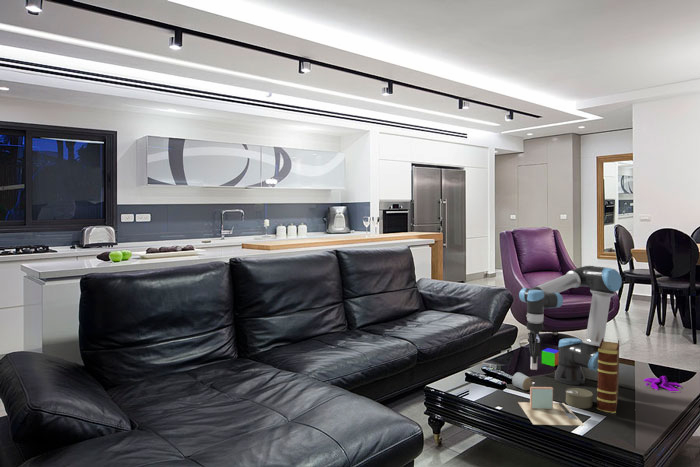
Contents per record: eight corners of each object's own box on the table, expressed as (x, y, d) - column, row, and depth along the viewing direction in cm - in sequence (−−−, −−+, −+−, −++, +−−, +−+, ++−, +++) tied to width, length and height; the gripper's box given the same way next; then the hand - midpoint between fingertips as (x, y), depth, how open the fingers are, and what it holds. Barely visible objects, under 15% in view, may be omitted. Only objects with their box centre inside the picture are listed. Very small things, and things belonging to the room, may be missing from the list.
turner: (564, 404, 231) (564, 403, 231) (577, 419, 216) (577, 417, 215) (556, 404, 232) (556, 402, 232) (569, 419, 216) (569, 417, 216)
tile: (551, 407, 228) (551, 387, 227) (553, 409, 226) (553, 388, 225) (529, 407, 229) (530, 386, 228) (531, 409, 227) (531, 388, 226)
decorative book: (615, 416, 222) (617, 351, 220) (596, 412, 226) (597, 349, 224) (618, 399, 241) (619, 340, 239) (600, 396, 245) (601, 337, 243)
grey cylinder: (523, 392, 250) (524, 377, 250) (511, 387, 257) (512, 373, 257) (537, 389, 255) (538, 374, 255) (525, 384, 262) (526, 370, 262)
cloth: (644, 377, 272) (644, 367, 272) (684, 385, 261) (684, 374, 260) (637, 389, 255) (638, 378, 255) (680, 398, 243) (680, 386, 243)
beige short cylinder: (596, 412, 226) (596, 397, 226) (568, 410, 228) (569, 396, 228) (588, 401, 238) (588, 388, 238) (562, 400, 240) (562, 386, 240)
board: (563, 405, 233) (563, 403, 233) (584, 428, 210) (584, 425, 210) (517, 404, 235) (517, 402, 235) (533, 427, 211) (533, 424, 211)
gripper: (523, 318, 243) (522, 364, 244) (531, 324, 230) (530, 373, 231) (538, 318, 242) (537, 365, 244) (547, 325, 229) (546, 373, 231)
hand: (533, 369), depth 237 cm, fingers closed
